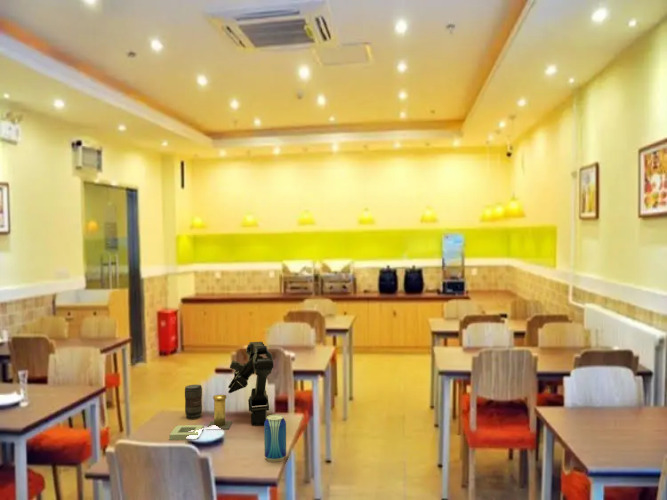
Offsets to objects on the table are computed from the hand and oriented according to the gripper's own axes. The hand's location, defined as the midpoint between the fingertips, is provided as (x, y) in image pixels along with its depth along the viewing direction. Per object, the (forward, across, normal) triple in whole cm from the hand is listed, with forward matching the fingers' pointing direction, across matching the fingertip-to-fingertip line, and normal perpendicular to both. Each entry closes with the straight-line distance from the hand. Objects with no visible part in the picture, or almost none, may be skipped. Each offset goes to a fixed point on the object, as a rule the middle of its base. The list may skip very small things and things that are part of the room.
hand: (228, 390), depth 261 cm
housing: (+22, +19, -3) cm, 29 cm away
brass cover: (+12, +10, +6) cm, 17 cm away
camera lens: (+22, -6, -2) cm, 23 cm away
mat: (+13, +10, +6) cm, 17 cm away
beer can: (-3, +53, +22) cm, 58 cm away
